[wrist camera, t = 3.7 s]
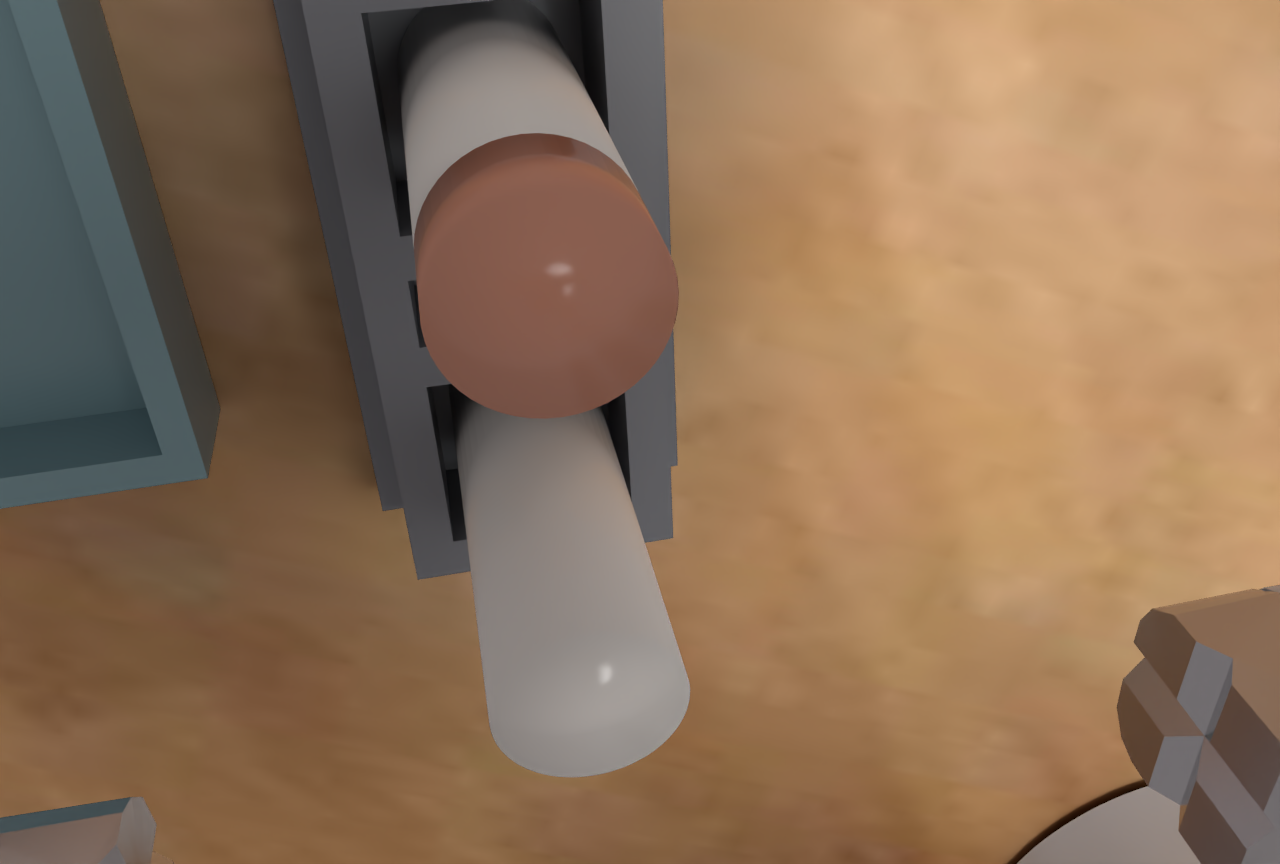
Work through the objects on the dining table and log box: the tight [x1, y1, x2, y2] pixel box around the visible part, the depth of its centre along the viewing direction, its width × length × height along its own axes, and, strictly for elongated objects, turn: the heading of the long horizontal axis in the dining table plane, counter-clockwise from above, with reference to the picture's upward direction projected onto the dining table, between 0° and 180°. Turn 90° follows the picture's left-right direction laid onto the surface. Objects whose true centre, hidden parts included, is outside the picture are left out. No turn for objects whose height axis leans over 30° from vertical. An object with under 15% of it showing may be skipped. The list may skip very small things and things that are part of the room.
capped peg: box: [397, 0, 679, 419], centre depth 21 cm, size 4×4×11 cm
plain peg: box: [449, 384, 690, 777], centre depth 25 cm, size 4×4×11 cm
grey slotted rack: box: [273, 0, 677, 580], centre depth 24 cm, size 22×8×4 cm, turn 2°
